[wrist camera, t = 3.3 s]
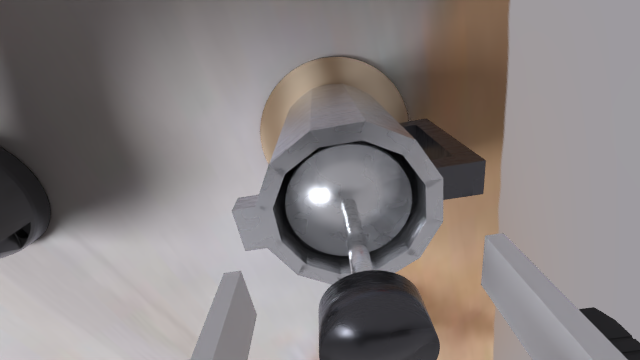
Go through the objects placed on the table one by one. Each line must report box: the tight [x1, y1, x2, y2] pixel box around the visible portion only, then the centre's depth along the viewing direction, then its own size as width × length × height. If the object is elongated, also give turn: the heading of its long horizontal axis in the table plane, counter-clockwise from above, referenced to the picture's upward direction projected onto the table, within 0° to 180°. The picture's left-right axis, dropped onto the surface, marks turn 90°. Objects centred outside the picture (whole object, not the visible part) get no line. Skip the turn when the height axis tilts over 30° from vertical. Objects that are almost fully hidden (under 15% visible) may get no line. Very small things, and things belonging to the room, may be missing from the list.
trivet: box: [260, 57, 408, 164], centre depth 33 cm, size 16×16×1 cm
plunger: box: [285, 141, 440, 360], centre depth 15 cm, size 8×8×11 cm
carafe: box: [232, 83, 486, 284], centre depth 25 cm, size 16×11×16 cm
